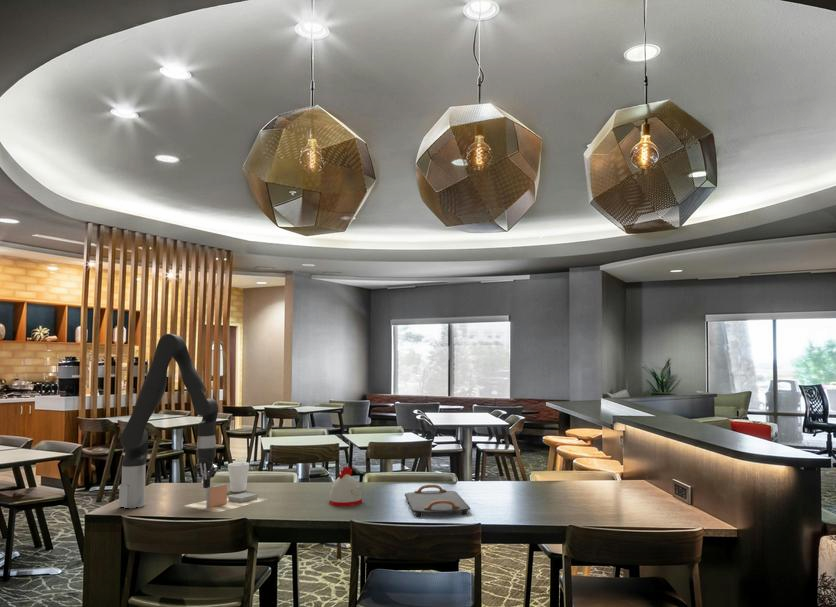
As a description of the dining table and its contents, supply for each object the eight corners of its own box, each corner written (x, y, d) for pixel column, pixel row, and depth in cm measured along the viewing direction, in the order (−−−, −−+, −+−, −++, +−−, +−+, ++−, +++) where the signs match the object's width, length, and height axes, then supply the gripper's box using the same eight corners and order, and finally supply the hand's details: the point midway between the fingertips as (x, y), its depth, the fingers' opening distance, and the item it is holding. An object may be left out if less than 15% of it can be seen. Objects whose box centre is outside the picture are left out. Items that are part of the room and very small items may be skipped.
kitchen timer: (368, 501, 274) (368, 465, 275) (347, 507, 262) (347, 470, 264) (343, 497, 281) (343, 463, 283) (322, 504, 270) (322, 467, 271)
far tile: (228, 500, 274) (240, 503, 269) (228, 496, 274) (241, 498, 270) (244, 496, 281) (257, 498, 277) (244, 492, 281) (257, 494, 277)
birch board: (217, 514, 253) (217, 512, 253) (182, 508, 266) (182, 505, 266) (268, 501, 276) (268, 499, 276) (234, 496, 288) (234, 493, 288)
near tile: (209, 508, 261) (209, 488, 262) (206, 507, 262) (206, 487, 263) (227, 503, 268) (227, 484, 269) (224, 503, 269) (224, 483, 270)
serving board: (473, 517, 245) (472, 501, 245) (413, 520, 242) (412, 503, 243) (454, 496, 283) (454, 481, 284) (402, 498, 280) (402, 484, 281)
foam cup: (241, 495, 290) (241, 465, 291) (223, 494, 293) (224, 465, 294) (252, 490, 299) (253, 462, 300) (235, 489, 302) (236, 461, 303)
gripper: (189, 446, 272) (189, 488, 270) (209, 448, 264) (209, 491, 263) (203, 444, 278) (203, 485, 277) (224, 446, 271) (224, 487, 269)
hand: (206, 488), depth 270 cm, fingers closed
